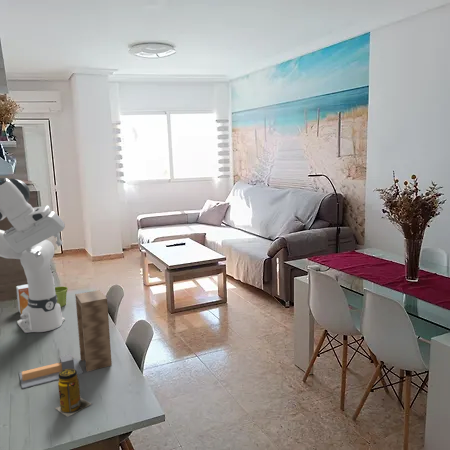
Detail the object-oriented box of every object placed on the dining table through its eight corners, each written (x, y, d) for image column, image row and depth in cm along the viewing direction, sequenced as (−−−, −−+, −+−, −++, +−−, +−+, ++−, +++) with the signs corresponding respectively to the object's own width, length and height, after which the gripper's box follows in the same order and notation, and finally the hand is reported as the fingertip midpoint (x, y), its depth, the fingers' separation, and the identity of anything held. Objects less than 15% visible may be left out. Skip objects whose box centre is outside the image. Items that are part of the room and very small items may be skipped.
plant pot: (51, 309, 222) (49, 293, 220) (48, 304, 230) (47, 288, 229) (70, 306, 226) (69, 290, 225) (67, 301, 234) (66, 285, 233)
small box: (20, 314, 216) (17, 289, 214) (18, 310, 221) (15, 285, 219) (38, 311, 221) (35, 286, 218) (35, 307, 226) (33, 282, 224)
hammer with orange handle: (23, 382, 153) (22, 371, 152) (21, 376, 157) (20, 365, 156) (74, 369, 161) (73, 359, 160) (71, 364, 165) (70, 354, 164)
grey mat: (22, 388, 149) (21, 387, 149) (19, 373, 160) (18, 372, 160) (82, 373, 159) (82, 372, 159) (76, 359, 169) (76, 358, 169)
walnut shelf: (86, 371, 160) (81, 303, 155) (80, 359, 170) (75, 294, 165) (111, 365, 164) (107, 298, 160) (104, 353, 174) (99, 290, 169)
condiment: (55, 408, 138) (51, 373, 136) (79, 396, 144) (76, 362, 142) (67, 417, 133) (64, 380, 131) (92, 404, 140) (89, 369, 137)
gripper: (-3, 237, 153) (22, 267, 158) (47, 210, 150) (71, 242, 156) (4, 229, 158) (28, 258, 164) (52, 203, 156) (75, 234, 162)
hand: (49, 250), depth 160 cm, fingers open, 8 cm apart
